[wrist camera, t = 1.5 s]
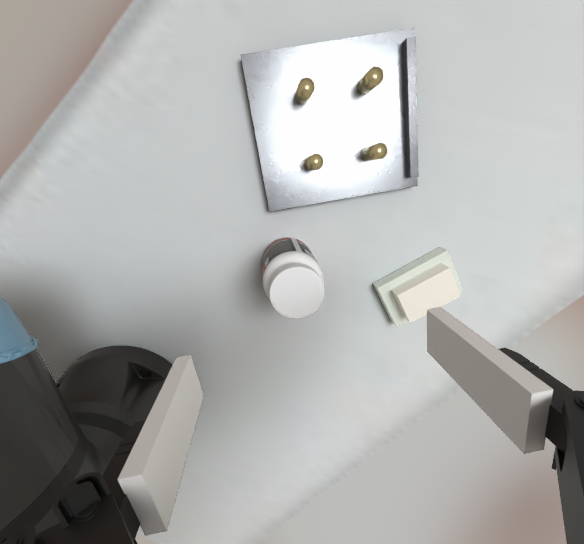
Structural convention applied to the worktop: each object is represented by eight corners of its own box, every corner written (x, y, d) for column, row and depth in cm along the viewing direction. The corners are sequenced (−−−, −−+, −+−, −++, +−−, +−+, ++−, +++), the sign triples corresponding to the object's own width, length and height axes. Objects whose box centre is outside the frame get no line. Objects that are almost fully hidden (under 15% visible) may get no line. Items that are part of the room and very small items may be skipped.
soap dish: (391, 321, 37) (403, 334, 34) (372, 283, 35) (383, 294, 32) (455, 287, 37) (473, 297, 33) (439, 246, 35) (457, 253, 31)
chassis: (269, 210, 32) (269, 215, 28) (241, 59, 27) (237, 39, 23) (411, 185, 32) (432, 186, 28) (407, 33, 28) (432, 9, 24)
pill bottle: (259, 281, 34) (258, 321, 25) (265, 233, 32) (265, 256, 23) (307, 286, 35) (324, 326, 25) (315, 239, 33) (336, 264, 24)
